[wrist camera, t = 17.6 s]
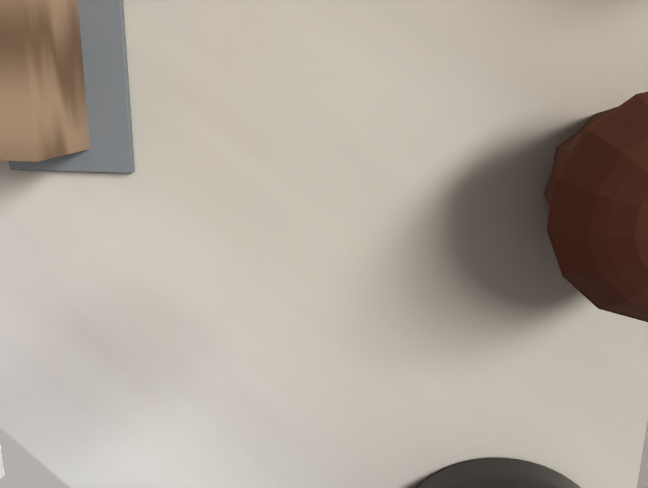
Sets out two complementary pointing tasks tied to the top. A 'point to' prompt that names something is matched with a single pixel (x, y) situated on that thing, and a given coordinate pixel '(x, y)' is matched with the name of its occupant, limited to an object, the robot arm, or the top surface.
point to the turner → (41, 80)
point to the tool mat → (100, 95)
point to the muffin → (604, 209)
